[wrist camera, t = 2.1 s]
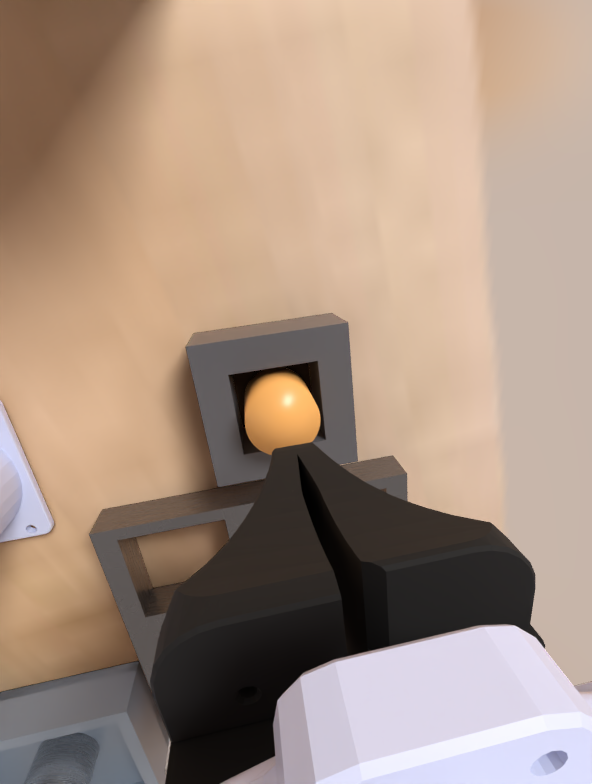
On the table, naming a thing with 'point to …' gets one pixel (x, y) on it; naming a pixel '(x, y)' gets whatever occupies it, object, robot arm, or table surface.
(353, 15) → the table surface
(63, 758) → the billet
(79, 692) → the tote
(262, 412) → the button
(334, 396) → the button housing
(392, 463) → the frame
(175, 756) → the robot arm
